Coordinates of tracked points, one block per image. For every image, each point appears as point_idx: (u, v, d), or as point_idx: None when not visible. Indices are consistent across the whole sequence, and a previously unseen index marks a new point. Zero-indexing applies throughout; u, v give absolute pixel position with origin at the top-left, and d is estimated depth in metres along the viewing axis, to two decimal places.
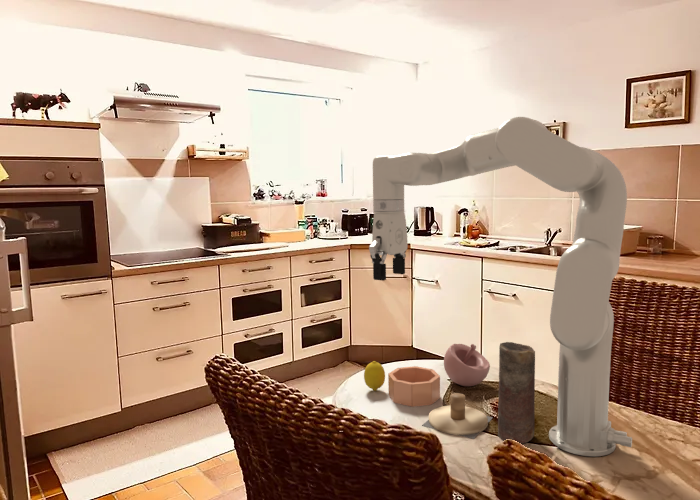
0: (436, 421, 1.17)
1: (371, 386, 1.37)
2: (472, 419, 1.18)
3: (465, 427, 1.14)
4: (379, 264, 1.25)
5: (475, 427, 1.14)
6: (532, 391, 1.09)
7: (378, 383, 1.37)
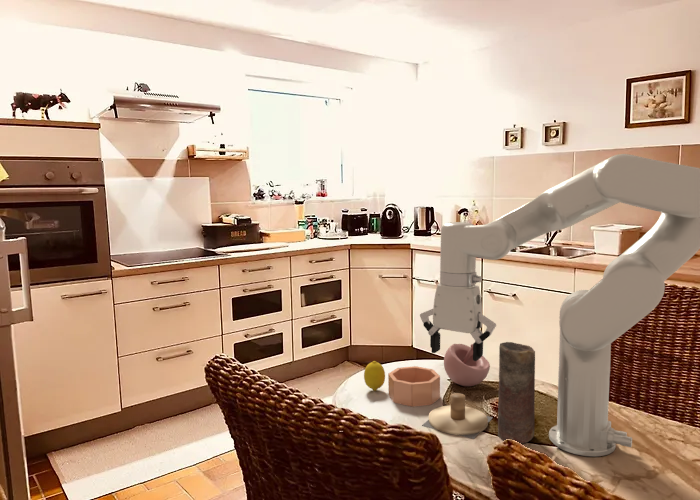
0: (436, 421, 1.17)
1: (371, 386, 1.37)
2: (472, 419, 1.18)
3: (465, 427, 1.14)
4: None
5: (475, 427, 1.14)
6: (532, 391, 1.09)
7: (378, 383, 1.37)
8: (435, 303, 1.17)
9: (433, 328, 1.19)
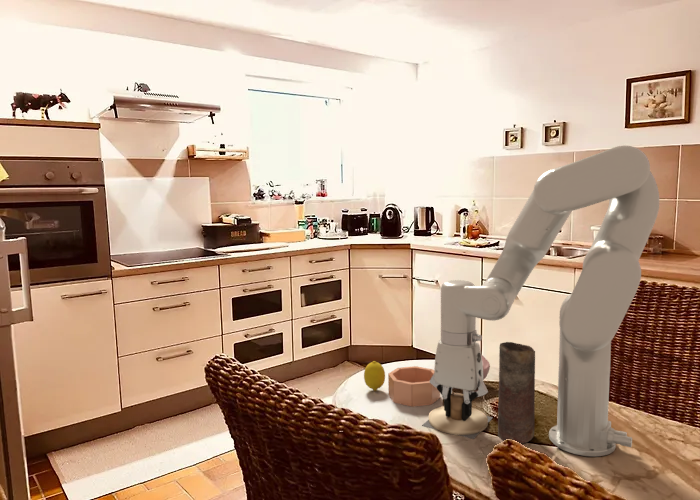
0: (436, 421, 1.17)
1: (371, 386, 1.37)
2: (472, 418, 1.18)
3: (465, 427, 1.14)
4: (471, 401, 1.18)
5: (475, 427, 1.14)
6: (532, 391, 1.09)
7: (378, 383, 1.37)
8: (436, 360, 1.18)
9: (444, 391, 1.19)
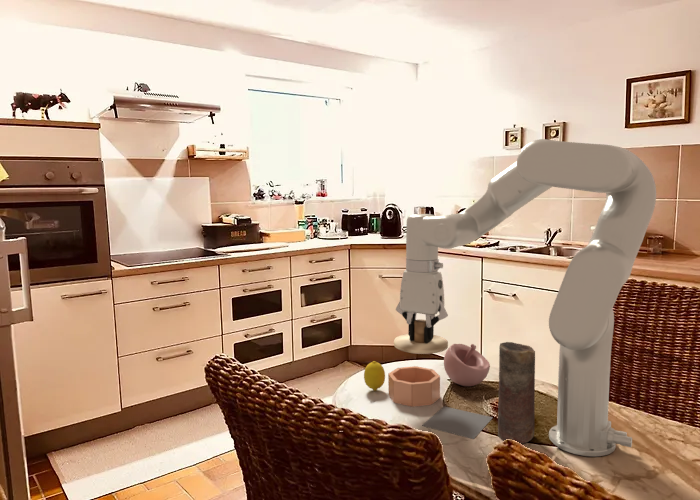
0: (400, 343, 1.27)
1: (371, 386, 1.37)
2: (434, 342, 1.28)
3: (426, 347, 1.24)
4: (433, 326, 1.28)
5: (435, 347, 1.24)
6: (532, 391, 1.09)
7: (378, 383, 1.37)
8: (402, 288, 1.28)
9: (408, 316, 1.29)
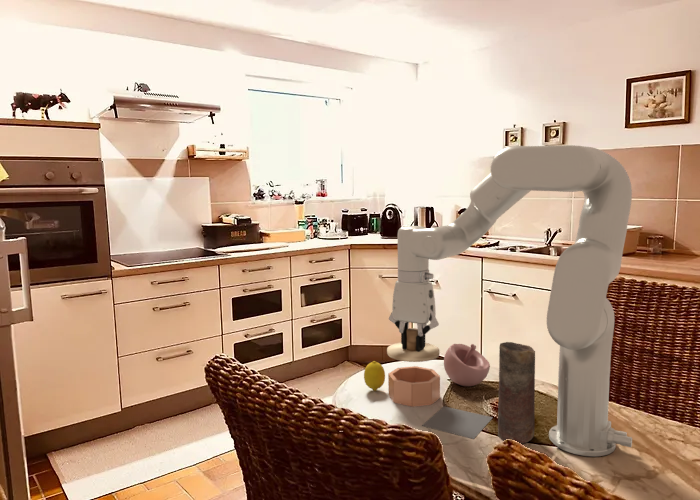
0: (393, 352, 1.31)
1: (371, 386, 1.37)
2: (425, 350, 1.32)
3: (418, 355, 1.28)
4: None
5: (427, 355, 1.28)
6: (532, 391, 1.09)
7: (378, 383, 1.37)
8: (394, 298, 1.32)
9: (400, 325, 1.33)
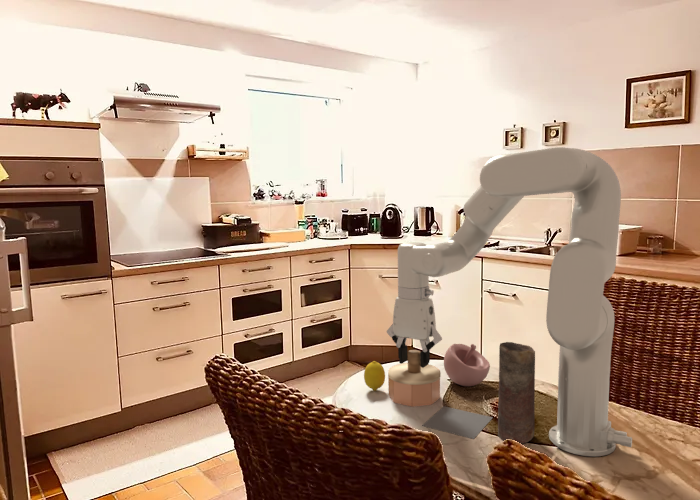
0: (394, 374, 1.32)
1: (371, 386, 1.37)
2: (426, 372, 1.32)
3: (419, 378, 1.28)
4: (429, 350, 1.31)
5: (428, 378, 1.28)
6: (532, 391, 1.09)
7: (378, 383, 1.37)
8: (394, 314, 1.32)
9: (398, 340, 1.33)
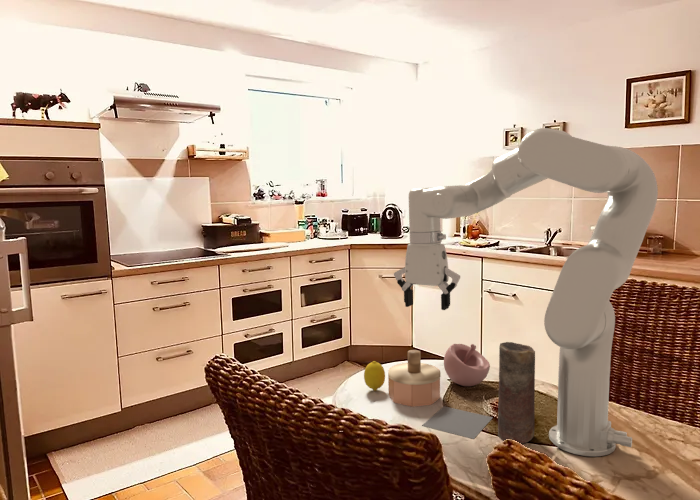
0: (394, 374, 1.32)
1: (371, 386, 1.37)
2: (426, 372, 1.32)
3: (419, 378, 1.28)
4: (449, 293, 1.29)
5: (428, 378, 1.28)
6: (532, 391, 1.09)
7: (378, 383, 1.37)
8: (406, 261, 1.31)
9: (406, 284, 1.33)
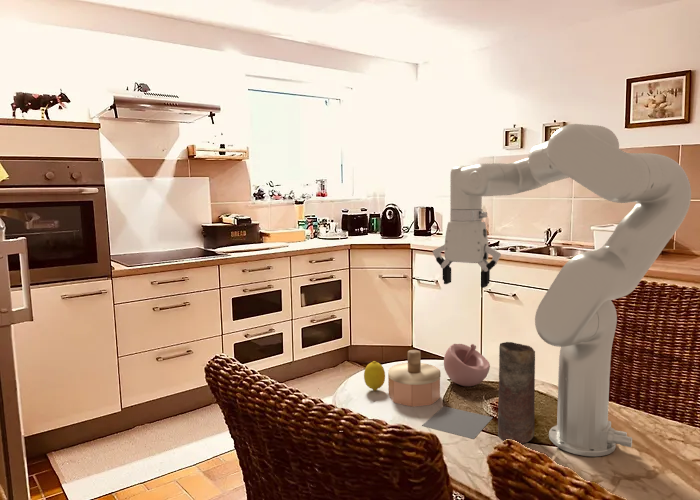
0: (394, 374, 1.32)
1: (371, 386, 1.37)
2: (426, 372, 1.32)
3: (419, 378, 1.28)
4: (489, 270, 1.30)
5: (428, 378, 1.28)
6: (532, 391, 1.09)
7: (378, 383, 1.37)
8: (446, 238, 1.32)
9: (445, 262, 1.34)
